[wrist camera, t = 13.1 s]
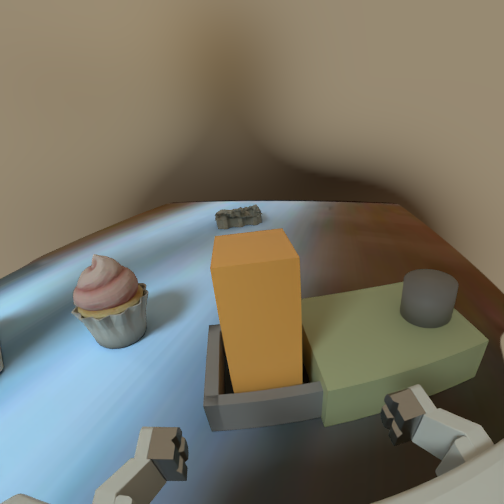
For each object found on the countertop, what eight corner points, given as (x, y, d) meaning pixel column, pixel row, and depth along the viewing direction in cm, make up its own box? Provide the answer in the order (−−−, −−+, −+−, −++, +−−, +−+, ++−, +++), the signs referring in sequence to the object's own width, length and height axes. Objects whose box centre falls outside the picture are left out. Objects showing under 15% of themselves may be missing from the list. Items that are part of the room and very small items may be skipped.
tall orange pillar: (302, 401, 21) (299, 257, 17) (237, 410, 21) (210, 268, 17) (289, 354, 27) (282, 228, 23) (235, 361, 27) (214, 236, 23)
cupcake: (79, 331, 33) (53, 257, 29) (142, 306, 38) (123, 233, 35) (95, 370, 26) (58, 281, 22) (172, 336, 31) (150, 249, 28)
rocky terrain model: (216, 232, 68) (214, 214, 67) (216, 223, 75) (214, 207, 74) (263, 225, 69) (262, 208, 67) (259, 217, 76) (257, 201, 74)
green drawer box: (474, 376, 19) (499, 307, 17) (211, 441, 18) (188, 374, 16) (414, 310, 30) (422, 252, 28) (214, 344, 29) (202, 282, 27)
